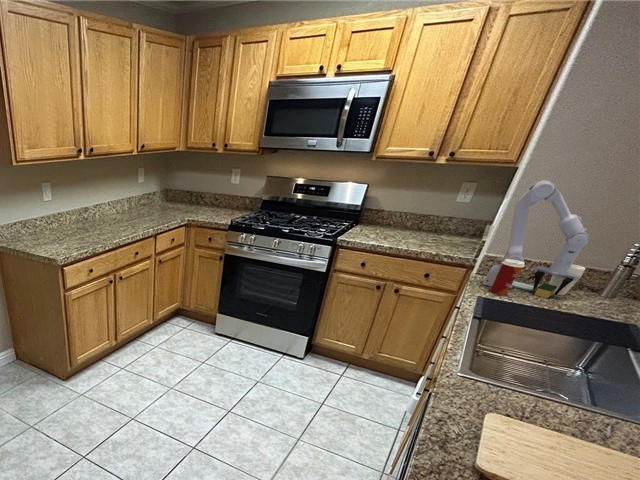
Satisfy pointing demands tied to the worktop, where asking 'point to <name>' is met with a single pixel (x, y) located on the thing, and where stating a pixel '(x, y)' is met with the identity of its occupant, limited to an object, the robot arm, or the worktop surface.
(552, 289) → the scrubber
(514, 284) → the cloth
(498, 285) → the paper cup
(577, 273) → the cup
